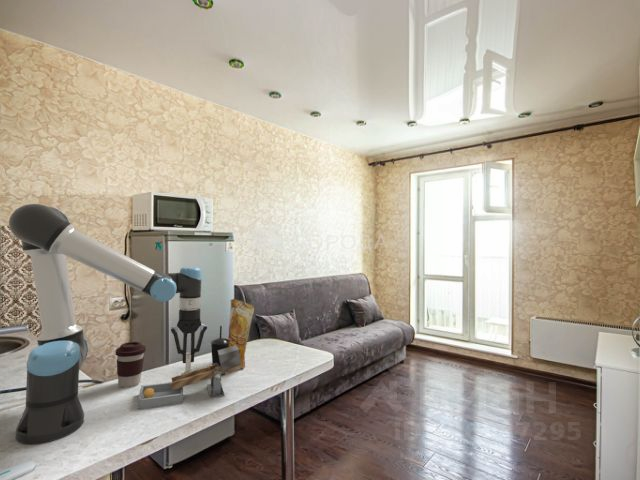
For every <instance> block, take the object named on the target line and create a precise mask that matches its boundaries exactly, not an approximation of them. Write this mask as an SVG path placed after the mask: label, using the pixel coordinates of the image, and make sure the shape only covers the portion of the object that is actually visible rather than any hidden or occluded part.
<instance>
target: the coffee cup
mask: <svg viewBox="0 0 640 480" xmlns="http://www.w3.org/2000/svg"><path fill="white" fill-rule="evenodd" d="M146 350H147V349H146V346H145V345H144V344H142V343H141V342H139V341H128V342H124V343H122V344H121V345H120V346H119V347H117V348H116V349H115V356H117V359H116V372H117V373H116V375H117V380H118V381H117V383H118V385H117V386H119V388H133V387H135V386H138V385H139V384H140V383H141V379H142V372H143V367H144V360H145V356H144V354H145V352H146Z"/></svg>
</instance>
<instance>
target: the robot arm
mask: <svg viewBox="0 0 640 480" xmlns="http://www.w3.org/2000/svg"><path fill="white" fill-rule="evenodd" d="M8 227H9V230H10V232H11V233H12V235H13V236H14V237H15V238H17V239H18V240H20V241H21V246H22V247H21V248H22V251H23V253H25V254H26V255H28V256H30V261H31V269H32V274H33V279H34V280H33V281H34V286H35V293H36V299H37V300H36V301H37V305H38V311H39V312H38V313H39V318H40V324H41V333H40V334H39V335H38V336H37V338H36V340H37V346H36V347H34V348H33V349H32V350H30V352H29V354H28V357H27V361H26V386H25V387H26V391H25V393H26V394H25V407H24V410H23V412H22V415H21V417H20V419H19V422H18V424H17V426H16V428H15V441H17V442H18V443H19V444H23V445H40V444H44V443H48V442H53V441H56V440H59V439H61V438H64V437H66V436H69V435H70V434H72V433H75V432H76V431H77V430H78V429H80V428H81V427H82V425H84V423H85V411H84V410H83V406H82V404H81V401H80V398H79V379H80V376H79V375H80V369H81V368H82V367H83V366H82V365H83V363H84V362H85V361H86V358H87V357H88V353H89V344H88V342H87V340H86V338H85V336H84V329H83V327H82V326H81V325H78V324H77V321H76V315H75V307H74V301H73V300H74V299H73V295H72V294H73V293H72V288H71V287H72V286H71V281H70V275H69V274H70V273H69V269H68V268H69V267H68V261H67V257H68V258H69V259H70V258H71V259H73V260H74V261H77V262H79V263H81V264H83V265H85V266H87V267H89V268H91V269H94V271H95V270H96V271H98V272H100V273H102V274H104V275H106V276H108V277H111V278H113V279H115V280H117V281H120V282H121V283H123V284H125V285H127V286H129V287H131V288H133V289H135V290H138V291H140V292H142V293H143V294H144V295H148V296H150V297H151V298H153V300H155V301H157V302H161V303H164V302H169V301H171V300H172V299H173V298H174V297H175V295H177V294H179V296H178V297H179V301H178V302H179V304H178V306H179V307H178V308H179V310H178V322H177V324H176V325H175V326H172V327H171V328H170V332H171V334H173V335H172V336H173V338H174V342H175V347H176V351H177V354H178V355H182V360H181V361H182V364H185V370H184V371H186V373H188V372H191V369H192V368H191V367H192V363H194V362H195V354H196V353H199V352H200V350H201V347H202V343H203V339H204V335H205V333H206V331H207V329H208V325H207V324H203V323H202V321H201V308H200V307H201V300H202V299H201V298H202V297H201V296H202V270H201V268H200V267H195V266H192V267H191V266H186V267H185V266H184V267H181V268H180V269H179V272H173V273H172V272H170V273H169V272H165V273H164V272H161V273H160V272H158V271H156V270H154V269H152V268H150V267H148V266H146V265H144V264H142V263H140V262H138V261H137V260H135V259H132V257H129V256H127V255H125V254H123V253H121V252H119V251H117V250H115V249H113V248H111V247H109V246H108V245H106V244H104V243H102V242H100V241H98V240H96V239H94V238H92V237H90V236H88V235H87V234H84V233H82V232H80V231H78V230H76V229H75V227H74V224H73V223H71V222H70V220H69V219H68V217H67V215H66V214H65V213H63V212H62V211H61V210H60V209H57V208H56V207H52V206H47V205H44V204H40V203H29V204H25V205H22V206H19V207H18V208H16V209H15V210H14V211H13V212H12V213H11V215H10V217H9V219H8ZM199 328H200V331H199V334H198V335H199V336H198V339H197V342H196V345H195V341H196V340H195V339H196V337H195V336H196V335H195V334H196V332H197V331H198V330H199ZM178 331H180V332H181V333H182V334H183V336H182V337H183V338H182V348H181V344H180V339H179V334H178V333H179V332H178ZM188 334H190V352H187V348H188V345H187V343H188ZM195 346H196V347H195Z"/></svg>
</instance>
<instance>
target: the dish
mask: <svg viewBox="0 0 640 480" xmlns="http://www.w3.org/2000/svg"><path fill="white" fill-rule="evenodd" d="M171 383H172V381H171V382H169V381H168V382H162V383H152V384H146V385H140V390H139V393H138V399H137V406H136V407H137V410H141V409H143V410H144V409H149V408H156V407H162V406H169V405H176V404H182V403H184V387H181V388H178V389H175V390H172V385H171ZM148 388H152V389H154V392H155V393H154V396H153V397H152V398H145V397H144V396H143V393H144V391H145V390H146V389H148Z"/></svg>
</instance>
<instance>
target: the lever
mask: <svg viewBox="0 0 640 480" xmlns="http://www.w3.org/2000/svg"><path fill="white" fill-rule="evenodd" d="M218 355H219V360H220V366H219V367H215V365H212V364H211V365H208V366H205V367H202V368H200V369H199V368H198V369H196V370H193V368H191V372H188V373H186V371H185V370H183V371H181V372H180V374H179V375H176V376H173V377H171V382H172V383H171V385H172V390H175V389H178V388H181V387H183V388H184V387H187V386H191V385H193V384H196V383H198V382H202V381H206V380H208V379H211V378H212V377H214V371H218V370H221V374H224V373H225V374H226V373H230V372H234V371H237V370H239V369H240V368H242V365H241V359H240V354H239V349H238V347H237V345H235V346H231V347H228V348H224V349H221V350H218Z"/></svg>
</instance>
